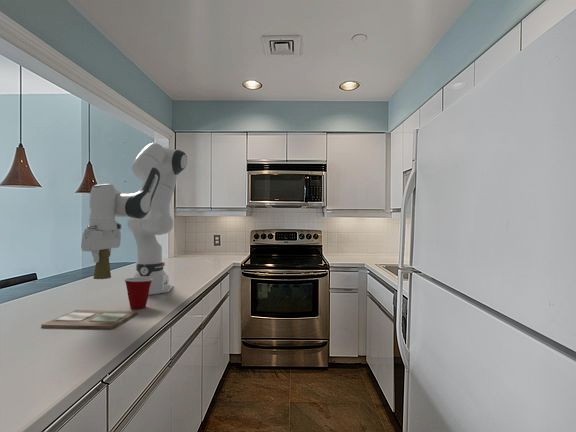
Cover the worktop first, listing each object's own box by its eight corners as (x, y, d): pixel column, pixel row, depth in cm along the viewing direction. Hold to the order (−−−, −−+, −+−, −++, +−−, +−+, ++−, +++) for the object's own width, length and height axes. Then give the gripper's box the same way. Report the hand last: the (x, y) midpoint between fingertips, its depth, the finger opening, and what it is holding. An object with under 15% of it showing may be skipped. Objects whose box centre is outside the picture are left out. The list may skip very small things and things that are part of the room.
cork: (103, 279, 131) (104, 250, 131) (89, 278, 132) (90, 249, 132) (114, 277, 137) (115, 248, 137) (101, 276, 138) (101, 248, 138)
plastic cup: (158, 305, 146) (158, 276, 146) (140, 312, 135) (141, 281, 135) (136, 303, 148) (136, 275, 148) (117, 309, 138) (117, 279, 138)
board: (76, 312, 134) (76, 309, 134) (137, 313, 133) (137, 310, 133) (41, 327, 116) (41, 323, 116) (111, 329, 115) (112, 325, 115)
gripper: (93, 226, 124) (92, 265, 124) (123, 225, 144) (123, 258, 144) (76, 225, 124) (75, 264, 124) (109, 224, 144) (108, 258, 144)
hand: (101, 261), depth 134 cm, fingers closed on cork, 4 cm apart
